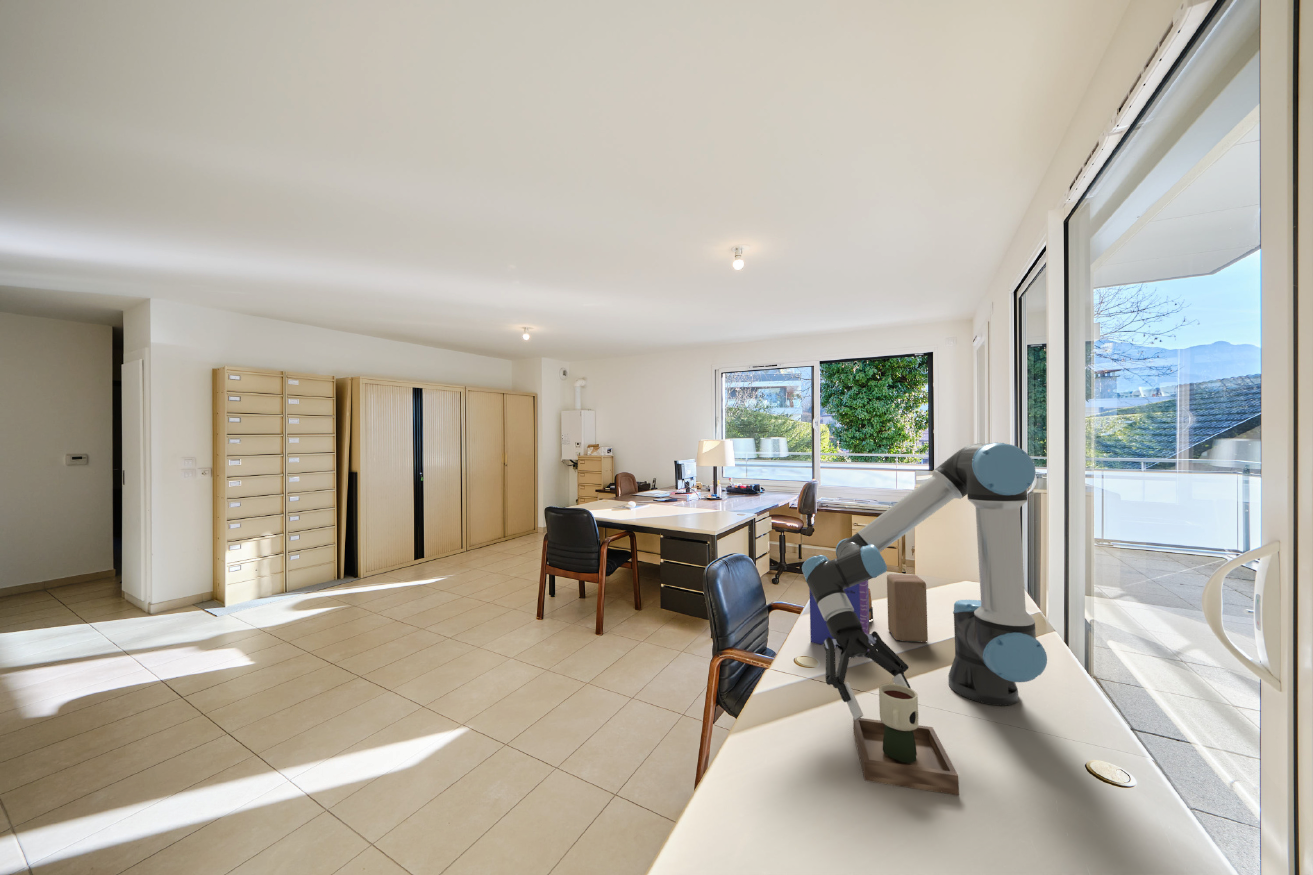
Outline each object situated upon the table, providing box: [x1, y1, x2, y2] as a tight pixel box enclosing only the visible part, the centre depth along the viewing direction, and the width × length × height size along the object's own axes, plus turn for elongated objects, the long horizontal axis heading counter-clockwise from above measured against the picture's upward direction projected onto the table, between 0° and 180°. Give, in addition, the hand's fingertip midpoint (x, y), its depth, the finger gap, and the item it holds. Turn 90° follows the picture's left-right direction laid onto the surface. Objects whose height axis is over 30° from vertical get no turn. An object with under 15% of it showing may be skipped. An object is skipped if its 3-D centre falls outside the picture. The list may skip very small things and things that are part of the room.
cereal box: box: [808, 580, 871, 651], centre depth 155 cm, size 17×5×24 cm, turn 58°
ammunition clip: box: [868, 587, 874, 620], centre depth 174 cm, size 11×2×12 cm, turn 133°
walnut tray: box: [852, 717, 960, 796], centre depth 97 cm, size 16×16×4 cm
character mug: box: [878, 682, 919, 763], centre depth 97 cm, size 11×7×13 cm, turn 147°
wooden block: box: [886, 573, 929, 643], centre depth 161 cm, size 10×10×20 cm
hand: (886, 712), depth 100 cm, fingers open, 13 cm apart
